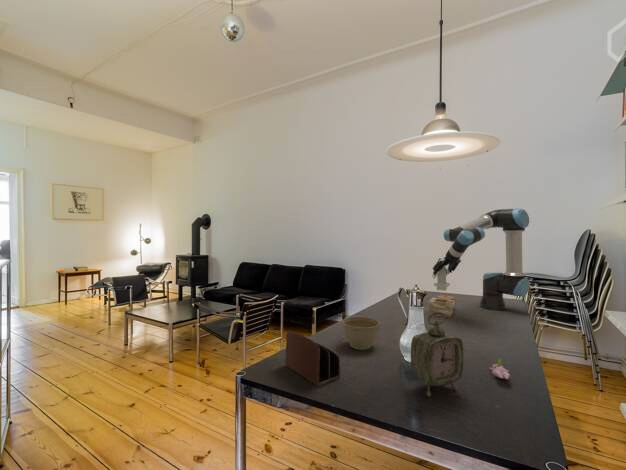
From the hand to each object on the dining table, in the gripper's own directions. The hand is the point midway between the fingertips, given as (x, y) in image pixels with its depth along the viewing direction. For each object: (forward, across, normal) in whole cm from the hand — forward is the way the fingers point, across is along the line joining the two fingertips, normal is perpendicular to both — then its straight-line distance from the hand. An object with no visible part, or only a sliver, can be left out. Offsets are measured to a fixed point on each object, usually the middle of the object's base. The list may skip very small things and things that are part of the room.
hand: (438, 276), depth 198 cm
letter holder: (-33, +94, +62) cm, 117 cm away
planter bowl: (-18, +68, +48) cm, 85 cm away
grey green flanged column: (+3, 0, +8) cm, 8 cm away
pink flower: (-44, +30, +74) cm, 91 cm away
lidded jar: (+20, -10, +11) cm, 25 cm away
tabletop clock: (-46, +57, +76) cm, 106 cm away
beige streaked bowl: (+13, 0, +18) cm, 22 cm away
